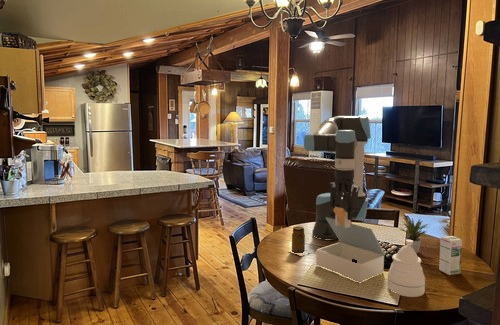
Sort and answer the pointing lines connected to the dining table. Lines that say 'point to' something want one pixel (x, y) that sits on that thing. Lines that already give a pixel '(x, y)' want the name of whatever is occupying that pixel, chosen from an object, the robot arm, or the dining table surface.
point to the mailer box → (350, 261)
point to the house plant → (414, 234)
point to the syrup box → (450, 255)
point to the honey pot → (406, 273)
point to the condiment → (298, 240)
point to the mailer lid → (354, 233)
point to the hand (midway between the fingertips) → (342, 225)
